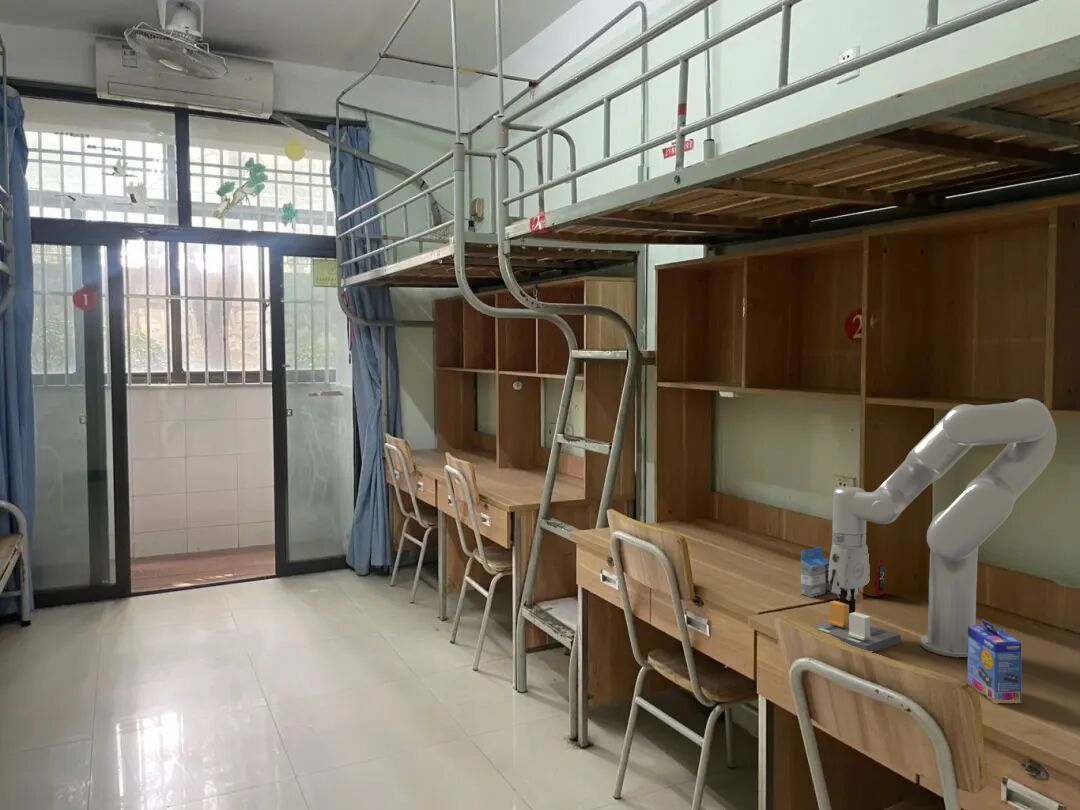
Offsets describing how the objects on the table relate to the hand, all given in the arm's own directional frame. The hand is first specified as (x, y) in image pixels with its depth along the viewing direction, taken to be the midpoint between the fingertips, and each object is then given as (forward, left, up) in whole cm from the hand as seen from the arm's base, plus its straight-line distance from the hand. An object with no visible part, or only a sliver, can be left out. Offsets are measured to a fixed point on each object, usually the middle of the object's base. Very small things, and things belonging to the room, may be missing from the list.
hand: (847, 614), depth 193 cm
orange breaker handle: (0, +3, -2) cm, 4 cm away
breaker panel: (-4, +3, -4) cm, 7 cm away
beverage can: (+15, -32, -4) cm, 35 cm away
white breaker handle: (-8, +7, -2) cm, 11 cm away
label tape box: (+24, -20, -4) cm, 31 cm away
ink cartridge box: (-38, +7, -4) cm, 39 cm away
